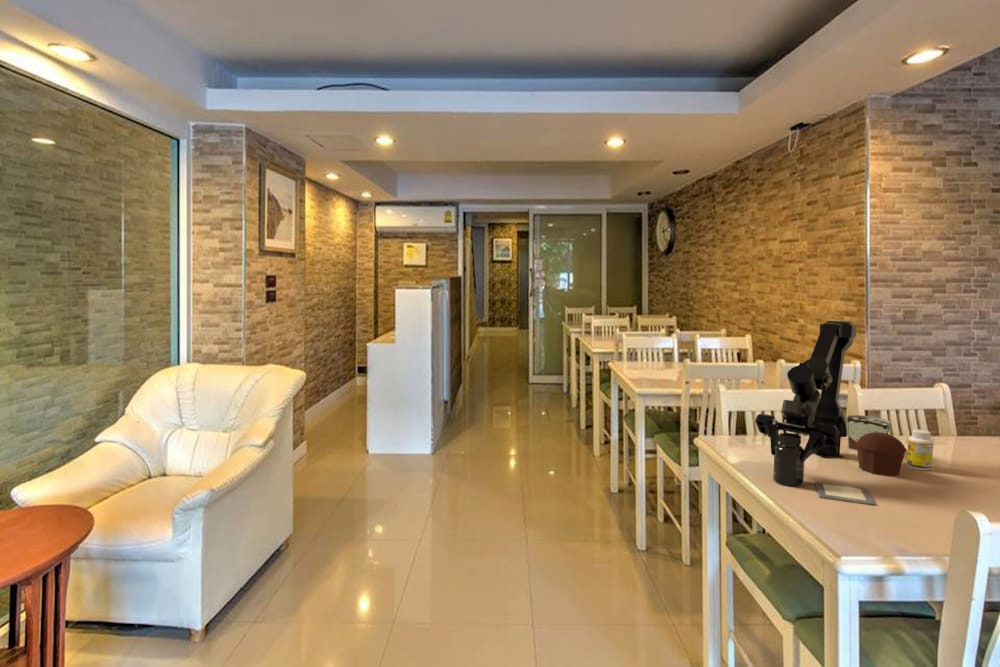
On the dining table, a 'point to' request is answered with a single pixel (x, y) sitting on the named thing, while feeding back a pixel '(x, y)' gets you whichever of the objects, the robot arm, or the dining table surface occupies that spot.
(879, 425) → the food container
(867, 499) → the foundation tile
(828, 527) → the dining table surface
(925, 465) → the supplement bottle
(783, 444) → the supplement bottle
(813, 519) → the dining table surface
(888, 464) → the muffin
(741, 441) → the dining table surface
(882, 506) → the dining table surface
